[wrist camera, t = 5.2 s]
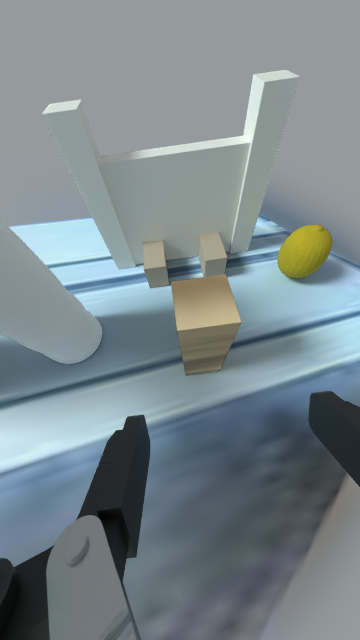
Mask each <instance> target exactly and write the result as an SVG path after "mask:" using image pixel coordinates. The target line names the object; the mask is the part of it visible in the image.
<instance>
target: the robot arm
mask: <svg viewBox="0 0 360 640" xmlns="http://www.w3.org/2000/svg"><path fill="white" fill-rule="evenodd" d="M309 424H310V427H311V429H312V431H313V432H314V434H315V435H316V436H317V437H318V439H319V440H320V441H321V442H322V443H323V444H324V446H325V447H326V448H327V449H328V450H329V451H330V453H331V454H332V455H333V456H334V457H335V459H336V460H337V461H338V462H339V463H340V464H341V466H342V467H343V468H344V469H345V470H346V471H347V473H348V474H349V475H350V476H351V477H352V478H353V480H354V481H355V482H356V483H357V484H358V485H359V487H360V407H358V406H356V405H354V404H352V403H350V402H348V401H344V400H342V399H341V398H340V397H338V396H337V395H336V394H335V393H333V392H331V391H324V392H317V393H312V394H311V396H310V407H309ZM149 458H150V439H149V434H148V430H147V425H146V421H145V417H144V415H136V416H129V417H127V419H126V421H125V424H124V428H123V430H116V431H115V433H114V434H113V435H112V436H111V438H110V439H109V440H108V442H107V444H106V447H105V449H104V452H103V456H102V457H101V460H100V462H99V467H97V470H96V472H95V475H94V477H93V480H92V483H91V485H90V488H89V490H88V493H87V495H86V498H85V501H84V503H83V506H82V508H81V511H80V513H79V515H78V517H77V519H76V521H74V522H73V523H72V524H71V525H69V526H68V527H67V528H66V529H65V531H64V532H63V533H62V534H61V535H60V537H59V538H58V540H57V541H56V543H55V545H53V546H52V547H51V548H49V549H47V550H46V551H44V552H42V553H40V554H38V555H36V556H34V557H33V558H31V559H29V560H27V561H25V562H23V563H21V564H19V565H18V566H16V567H13V565H12V564H11V562H10V561H9V560H8V559H5V558H1V559H0V640H141V638H140V635H139V632H138V628H137V625H136V622H135V619H134V616H133V612H132V609H131V606H130V603H129V600H128V597H127V593H126V590H125V587H124V584H123V576H124V570H125V564H126V558H134V557H136V556H137V548H138V541H139V533H140V526H141V518H142V511H143V503H144V496H145V488H146V481H147V473H148V466H149Z"/></svg>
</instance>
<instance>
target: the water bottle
mask: <svg viewBox="0 0 360 640" xmlns="http://www.w3.org/2000/svg"><path fill="white" fill-rule="evenodd" d="M102 333H103V332H102V327H101V324H100V323H99V321H98V320H97V319H96V318H95V317H94V316H93V315H92V314H91V313H90V312H89V311H87V310H86V309H85V308H84V306H83V305H82V303H81V302H80V301H79V300H78V299H77V298H76V297H75V296H74V295H72V294H71V293H70V292H68V291H67V290H66V289H65V287H64V286H63V285H62V283H61V282H60V281H59V280H58V279H57V277H56V276H55V275H54V274H53V273H52V272H51V271H50V269H49V268H48V267H47V266H46V265H45V264H44V263H43V262H42V261H41V260H40V259H39V257H38V256H37V255H36V254H35V253H34V252H33V251H32V250H31V249H30V248H29V247H28V246H27V245H26V244H25V243H24V242H23V241H22V240H21V239H20V238H19V237H18V236H17V235H16V234H15V233H14V232H13V231H12V230H11V229H10V228H9V227H8V226H7V225H5V223H4V222H2V221H1V220H0V334H1V335H4V336H6V337H9V338H12V339H14V340H15V341H17V342H18V343H19V344H21V345H23V346H25V347H27V348H29V349H31V350H34V351H37V352H41V353H43V354H44V355H45V356H47V357H49V358H51V359H53V360H55V361H57V362H59V363H63V364H74V363H78V362H81V361H83V360H85V359H86V358H88V357H89V356H91V355H92V354H93V353H94V352H95V350H96V349H97V348H98V346H99V344H100V342H101V339H102Z"/></svg>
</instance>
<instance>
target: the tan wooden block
mask: <svg viewBox="0 0 360 640" xmlns="http://www.w3.org/2000/svg"><path fill="white" fill-rule="evenodd" d="M171 284H172V293H173V301H174V309H175V318H176V326H177V333H178V338H179V343H180V348H181V353H182V359H183V364H184V369H185V374H186V376H187V375H194V374H201V373H209V372H216V371H220V369H221V367H222V364H223V362H224V360H225V358H226V355H227V353H228V351H229V349H230V346H231V344H232V342H233V340H234V338H235V335H236V333H237V331H238V329H239V326H240V324H241V319H240V316H239V313H238V310H237V307H236V304H235V301H234V297H233V294H232V291H231V288H230V285H229V282H228V279H227V276H226V274H224V275H216V276H209V277H202V278H195V279H187V280H180V281H173V282H171Z"/></svg>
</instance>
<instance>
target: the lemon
mask: <svg viewBox="0 0 360 640" xmlns="http://www.w3.org/2000/svg"><path fill="white" fill-rule="evenodd" d="M331 247H332V237H331V235H330V233H329V231H328V230H327V229H325V228H324V227H323V226H322V225H306V226H303V227H301V228H299V229H297V230H296V231H294V232H293V233H292V234H291V235H290V236H289V237H288V238H287V239H286V240H285V242H284V243H283V245H282V246H281V248H280V251H279V254H278V266H279V269H280V270H281V272H282V273H283V274H285V275H286V276H288V277H291V278H302V277H306V276H308V275H310V274H312V273H314V272H315V271H316V270H318V269H319V268H320V267H321V265H322V264H323V263H324V262H325V261H326V259H327V257H328V255H329V253H330V250H331Z"/></svg>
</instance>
